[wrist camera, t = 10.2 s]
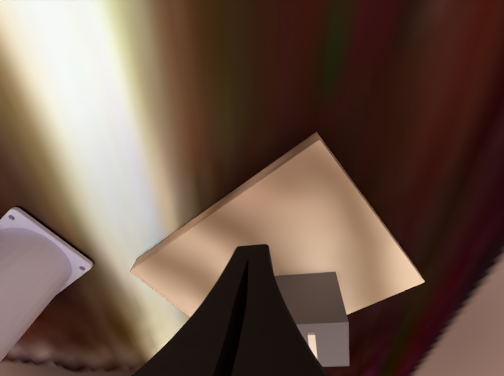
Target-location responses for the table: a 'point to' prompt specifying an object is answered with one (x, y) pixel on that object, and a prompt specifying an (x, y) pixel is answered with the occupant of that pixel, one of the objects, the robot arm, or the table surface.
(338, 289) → the grey cube
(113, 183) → the table surface
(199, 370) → the robot arm
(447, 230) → the table surface
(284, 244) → the board
